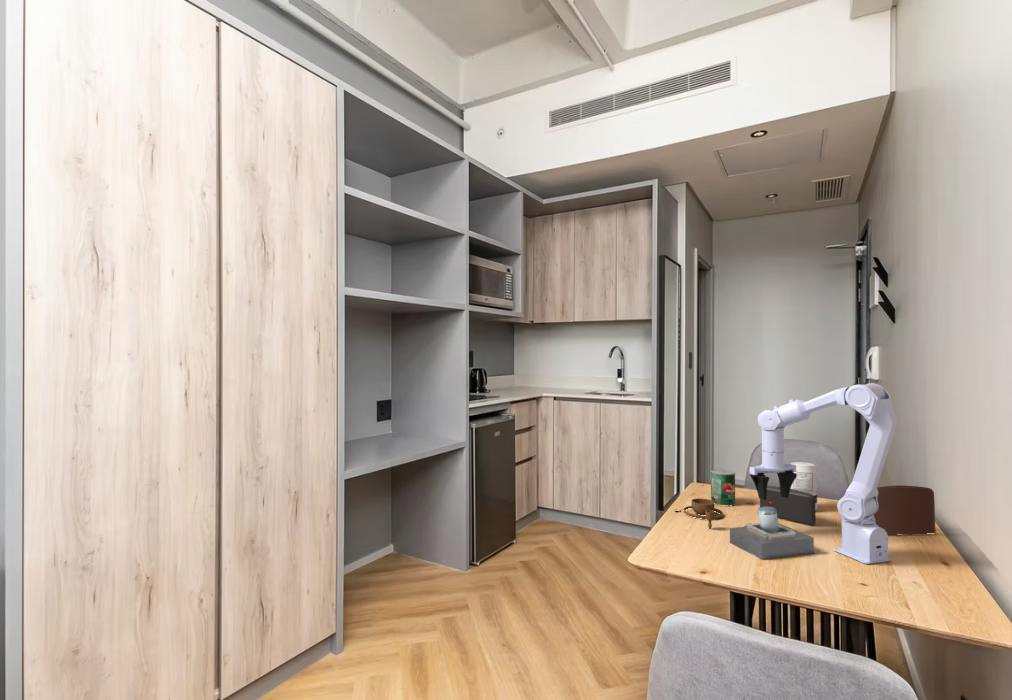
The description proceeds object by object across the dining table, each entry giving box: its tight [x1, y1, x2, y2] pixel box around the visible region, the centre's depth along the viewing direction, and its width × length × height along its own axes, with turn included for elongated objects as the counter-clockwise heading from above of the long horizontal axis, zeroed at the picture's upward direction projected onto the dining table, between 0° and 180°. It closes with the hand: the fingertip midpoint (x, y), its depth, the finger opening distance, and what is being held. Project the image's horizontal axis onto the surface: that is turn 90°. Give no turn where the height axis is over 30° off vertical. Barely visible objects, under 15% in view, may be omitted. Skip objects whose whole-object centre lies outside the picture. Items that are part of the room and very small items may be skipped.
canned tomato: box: [710, 468, 736, 507], centre depth 178 cm, size 8×8×11 cm
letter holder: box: [873, 485, 936, 536], centre depth 150 cm, size 10×20×14 cm, turn 92°
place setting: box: [674, 498, 724, 530], centre depth 163 cm, size 18×20×6 cm
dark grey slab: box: [759, 485, 817, 526], centre depth 160 cm, size 16×5×9 cm, turn 39°
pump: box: [757, 506, 779, 533], centre depth 137 cm, size 4×4×6 cm
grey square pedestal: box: [729, 522, 815, 560], centre depth 139 cm, size 16×16×5 cm
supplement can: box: [790, 461, 818, 511], centre depth 171 cm, size 8×8×15 cm
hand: (773, 497), depth 149 cm, fingers open, 7 cm apart
